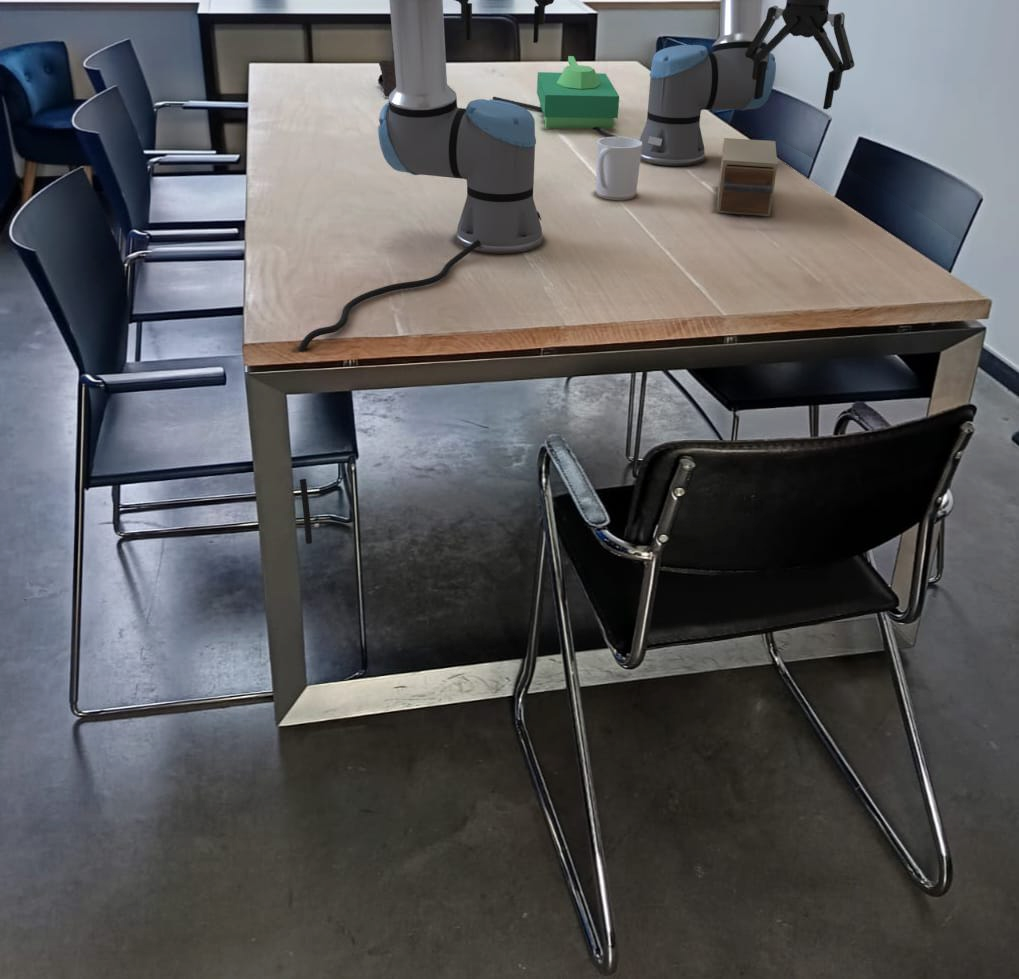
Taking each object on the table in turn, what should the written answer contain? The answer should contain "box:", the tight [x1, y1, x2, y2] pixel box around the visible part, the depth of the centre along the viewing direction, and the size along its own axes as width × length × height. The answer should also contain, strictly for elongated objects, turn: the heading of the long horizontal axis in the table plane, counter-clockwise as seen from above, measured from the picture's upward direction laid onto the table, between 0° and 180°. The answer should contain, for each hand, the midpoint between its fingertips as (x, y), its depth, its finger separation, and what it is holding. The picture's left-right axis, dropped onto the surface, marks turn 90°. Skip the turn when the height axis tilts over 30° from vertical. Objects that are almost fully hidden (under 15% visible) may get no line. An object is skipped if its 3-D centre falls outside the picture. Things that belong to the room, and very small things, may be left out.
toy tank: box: [536, 55, 620, 130], centre depth 276 cm, size 18×12×35 cm
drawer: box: [720, 165, 774, 214], centre depth 212 cm, size 21×9×8 cm, turn 170°
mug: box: [595, 136, 642, 201], centre depth 218 cm, size 11×9×10 cm
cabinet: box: [716, 137, 779, 217], centre depth 216 cm, size 17×10×10 cm, turn 170°
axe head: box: [377, 59, 396, 97], centre depth 299 cm, size 18×8×15 cm
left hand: (502, 40), depth 221 cm, fingers open, 13 cm apart
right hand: (792, 103), depth 208 cm, fingers open, 13 cm apart
